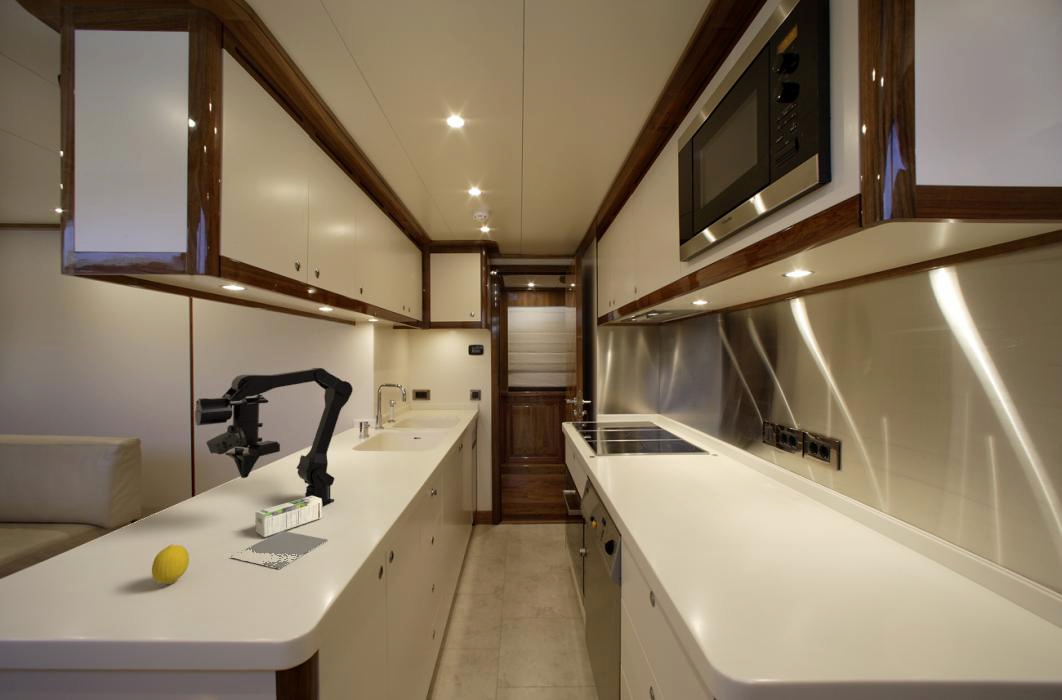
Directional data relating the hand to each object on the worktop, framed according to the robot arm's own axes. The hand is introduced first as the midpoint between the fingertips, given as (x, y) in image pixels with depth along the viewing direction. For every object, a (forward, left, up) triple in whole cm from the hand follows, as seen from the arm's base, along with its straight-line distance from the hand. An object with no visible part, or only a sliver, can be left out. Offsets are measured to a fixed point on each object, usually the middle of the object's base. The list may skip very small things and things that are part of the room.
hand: (244, 477), depth 102 cm
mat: (+6, +21, -13) cm, 25 cm away
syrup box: (+3, +9, -11) cm, 14 cm away
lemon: (+23, +12, -14) cm, 29 cm away
